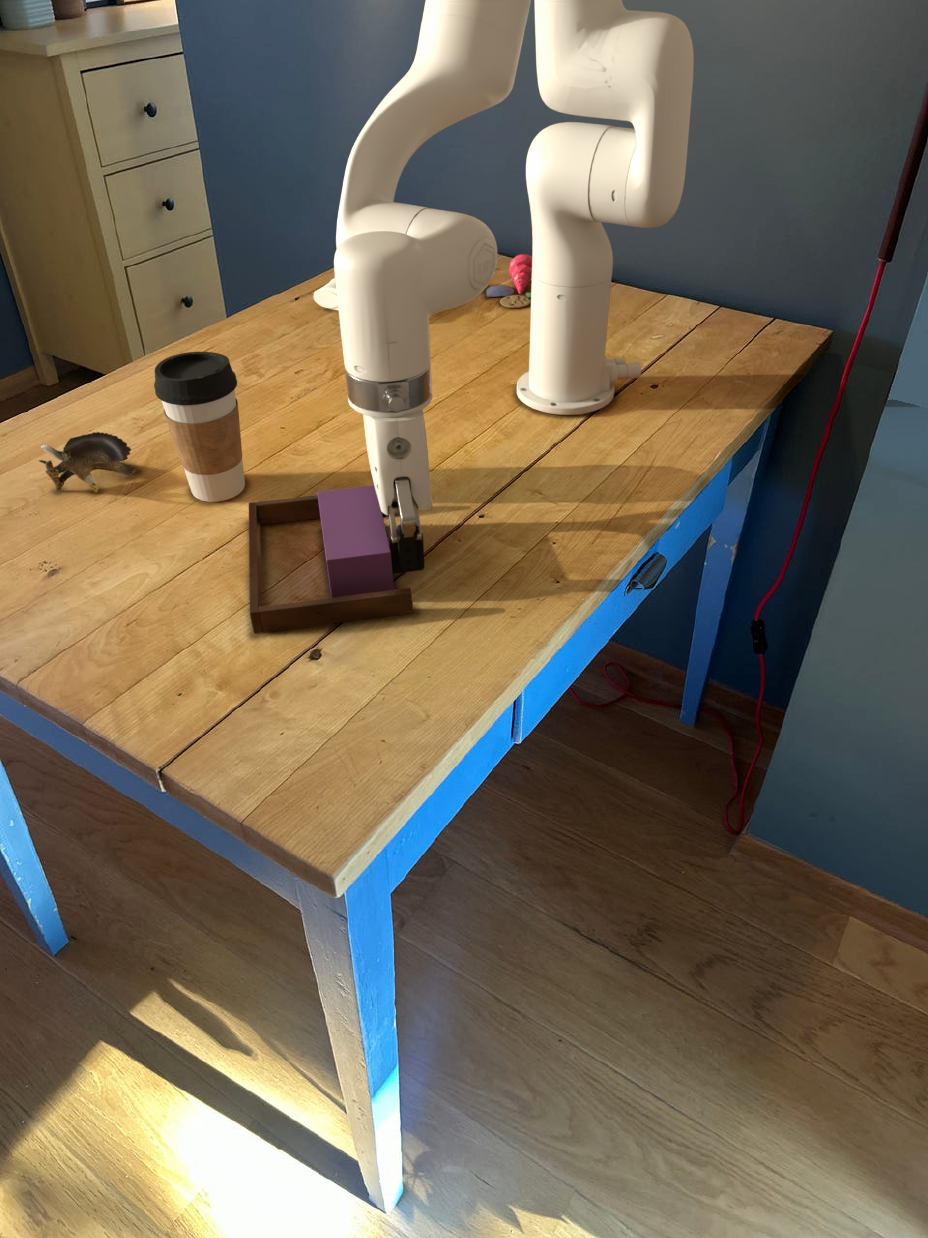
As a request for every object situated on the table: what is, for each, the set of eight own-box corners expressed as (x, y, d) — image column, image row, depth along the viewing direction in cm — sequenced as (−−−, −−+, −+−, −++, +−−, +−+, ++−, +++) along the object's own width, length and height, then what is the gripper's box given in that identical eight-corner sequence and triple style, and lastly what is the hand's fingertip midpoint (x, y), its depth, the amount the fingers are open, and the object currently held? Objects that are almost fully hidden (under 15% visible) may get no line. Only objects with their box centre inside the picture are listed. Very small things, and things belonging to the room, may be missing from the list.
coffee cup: (220, 516, 101) (191, 388, 91) (164, 494, 104) (131, 369, 95) (271, 480, 106) (250, 356, 97) (216, 461, 110) (190, 339, 100)
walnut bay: (389, 506, 102) (388, 486, 100) (413, 613, 88) (411, 592, 86) (252, 522, 100) (248, 502, 98) (253, 634, 86) (249, 613, 84)
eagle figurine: (66, 506, 101) (142, 467, 104) (29, 446, 99) (107, 408, 102) (67, 508, 108) (138, 472, 111) (32, 453, 106) (105, 417, 109)
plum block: (379, 525, 99) (375, 484, 96) (394, 594, 90) (390, 552, 87) (322, 532, 98) (317, 491, 95) (332, 602, 89) (326, 560, 86)
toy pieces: (476, 283, 152) (476, 255, 149) (542, 275, 153) (543, 248, 151) (495, 310, 143) (495, 282, 140) (565, 302, 145) (566, 274, 142)
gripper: (448, 425, 77) (453, 589, 88) (416, 339, 90) (424, 491, 101) (356, 434, 76) (373, 599, 87) (338, 346, 89) (355, 499, 100)
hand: (401, 541), depth 94 cm, fingers open, 9 cm apart
